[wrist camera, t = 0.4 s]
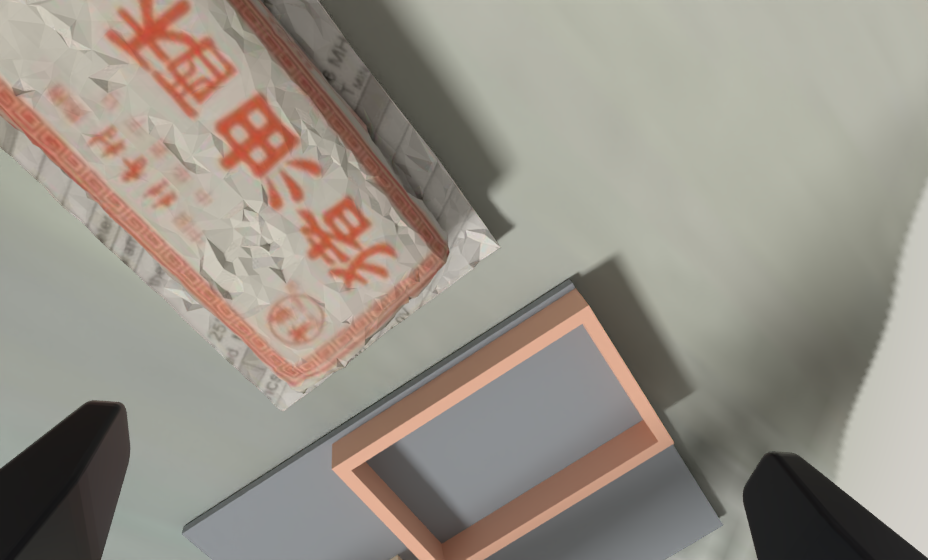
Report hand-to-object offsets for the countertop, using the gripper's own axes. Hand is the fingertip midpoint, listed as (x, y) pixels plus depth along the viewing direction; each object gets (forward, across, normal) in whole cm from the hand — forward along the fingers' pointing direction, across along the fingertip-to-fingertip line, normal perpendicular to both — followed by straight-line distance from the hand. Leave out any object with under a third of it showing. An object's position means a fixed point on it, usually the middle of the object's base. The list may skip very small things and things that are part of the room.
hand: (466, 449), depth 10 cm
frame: (+13, -5, +12) cm, 19 cm away
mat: (+12, -5, +17) cm, 22 cm away
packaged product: (+15, +6, +2) cm, 17 cm away
